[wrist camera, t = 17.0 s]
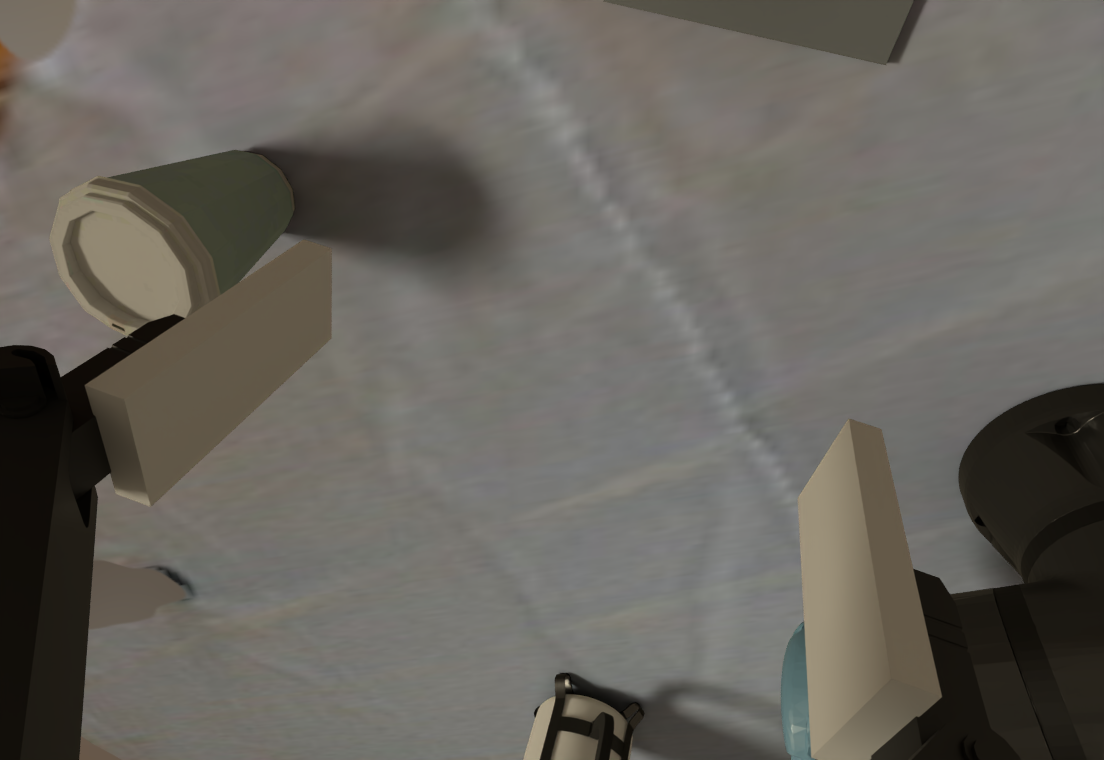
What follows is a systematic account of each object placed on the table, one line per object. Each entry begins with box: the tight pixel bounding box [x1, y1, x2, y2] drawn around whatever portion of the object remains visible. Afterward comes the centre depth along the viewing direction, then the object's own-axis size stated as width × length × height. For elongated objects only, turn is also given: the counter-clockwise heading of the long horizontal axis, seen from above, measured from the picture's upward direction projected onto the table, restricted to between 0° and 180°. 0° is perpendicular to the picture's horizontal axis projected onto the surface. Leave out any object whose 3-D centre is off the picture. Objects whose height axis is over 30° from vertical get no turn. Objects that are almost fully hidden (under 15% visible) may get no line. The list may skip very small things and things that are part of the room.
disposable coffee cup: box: [49, 150, 295, 336], centre depth 46 cm, size 11×11×15 cm
